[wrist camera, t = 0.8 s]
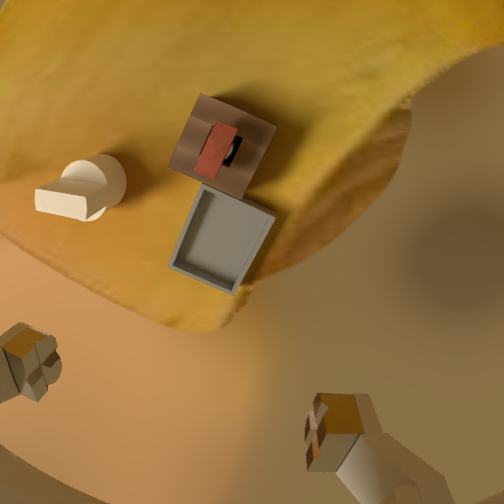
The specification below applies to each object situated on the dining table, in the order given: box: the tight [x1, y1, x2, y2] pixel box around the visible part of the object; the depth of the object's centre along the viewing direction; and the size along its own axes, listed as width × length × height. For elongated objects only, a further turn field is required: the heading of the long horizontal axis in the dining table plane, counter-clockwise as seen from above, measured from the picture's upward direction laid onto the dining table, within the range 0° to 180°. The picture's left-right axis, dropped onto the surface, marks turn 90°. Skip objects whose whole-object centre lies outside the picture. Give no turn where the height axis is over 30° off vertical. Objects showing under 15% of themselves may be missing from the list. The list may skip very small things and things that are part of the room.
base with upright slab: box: [35, 154, 127, 221], centre depth 37 cm, size 9×9×12 cm
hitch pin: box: [194, 120, 239, 180], centre depth 35 cm, size 6×3×10 cm, turn 154°
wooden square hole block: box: [168, 93, 278, 200], centre depth 37 cm, size 10×10×6 cm
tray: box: [168, 183, 276, 296], centre depth 44 cm, size 14×11×3 cm
